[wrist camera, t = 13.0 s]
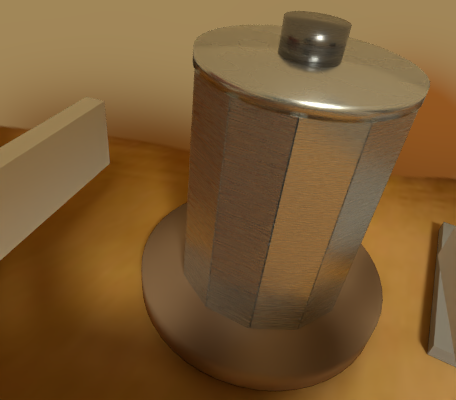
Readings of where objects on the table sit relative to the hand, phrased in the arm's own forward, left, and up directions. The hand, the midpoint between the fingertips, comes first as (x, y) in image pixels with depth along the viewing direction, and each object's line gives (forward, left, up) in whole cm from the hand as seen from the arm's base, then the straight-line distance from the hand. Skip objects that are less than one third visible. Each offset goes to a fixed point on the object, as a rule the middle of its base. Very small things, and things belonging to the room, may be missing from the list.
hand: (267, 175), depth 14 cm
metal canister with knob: (+1, -5, -9) cm, 10 cm away
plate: (+1, -5, -10) cm, 12 cm away
